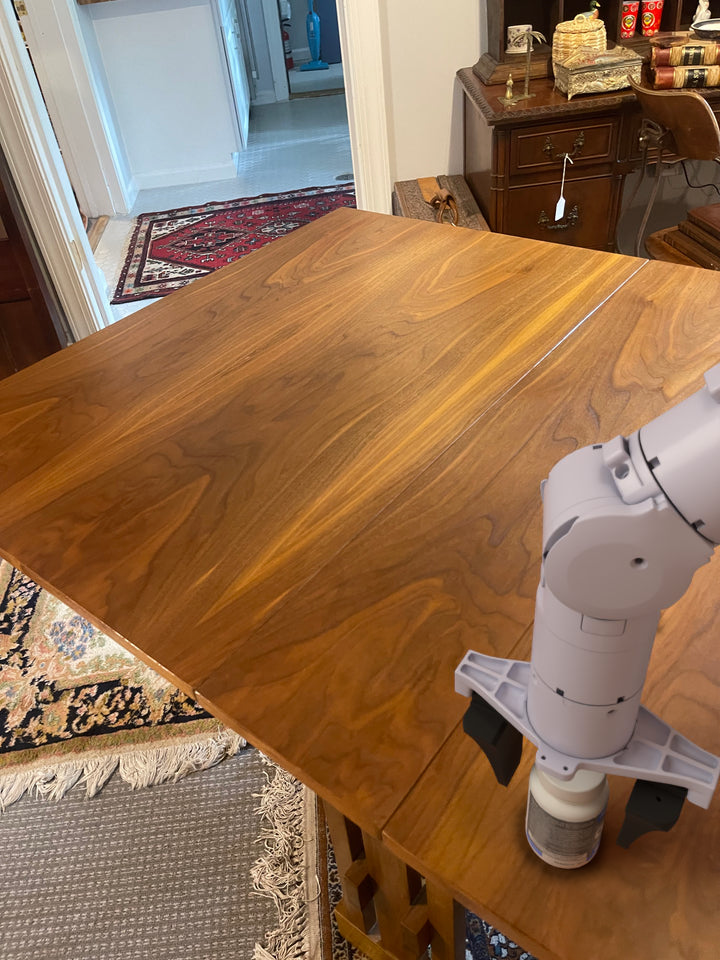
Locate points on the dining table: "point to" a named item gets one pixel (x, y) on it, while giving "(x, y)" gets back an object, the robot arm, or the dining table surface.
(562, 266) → the dining table surface
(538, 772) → the pill bottle
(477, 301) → the dining table surface
